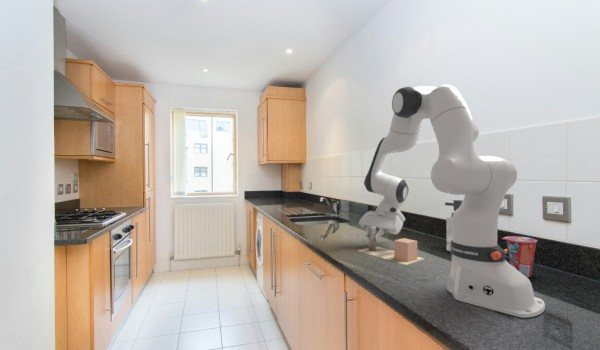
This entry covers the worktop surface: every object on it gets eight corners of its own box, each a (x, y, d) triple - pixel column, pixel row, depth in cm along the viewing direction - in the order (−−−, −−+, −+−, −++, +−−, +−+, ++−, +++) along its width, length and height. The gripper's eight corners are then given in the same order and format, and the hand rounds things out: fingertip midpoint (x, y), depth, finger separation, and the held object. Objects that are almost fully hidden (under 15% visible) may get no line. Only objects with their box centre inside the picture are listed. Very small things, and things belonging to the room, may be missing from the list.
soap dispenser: (451, 247, 133) (450, 199, 132) (470, 251, 125) (469, 200, 125) (441, 249, 129) (441, 199, 129) (460, 253, 122) (460, 201, 122)
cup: (517, 269, 102) (517, 235, 102) (544, 277, 94) (543, 240, 94) (497, 272, 99) (497, 237, 99) (523, 280, 91) (523, 242, 91)
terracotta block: (417, 259, 110) (417, 240, 110) (407, 262, 107) (407, 243, 107) (403, 255, 115) (403, 238, 115) (394, 258, 112) (394, 240, 112)
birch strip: (425, 262, 111) (425, 232, 111) (406, 268, 104) (406, 236, 104) (376, 248, 130) (376, 224, 130) (357, 253, 124) (357, 227, 124)
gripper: (365, 206, 137) (350, 229, 131) (402, 210, 120) (386, 237, 115) (371, 214, 139) (357, 237, 134) (408, 220, 123) (394, 246, 117)
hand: (371, 237), depth 124 cm, fingers closed on birch strip, 3 cm apart
